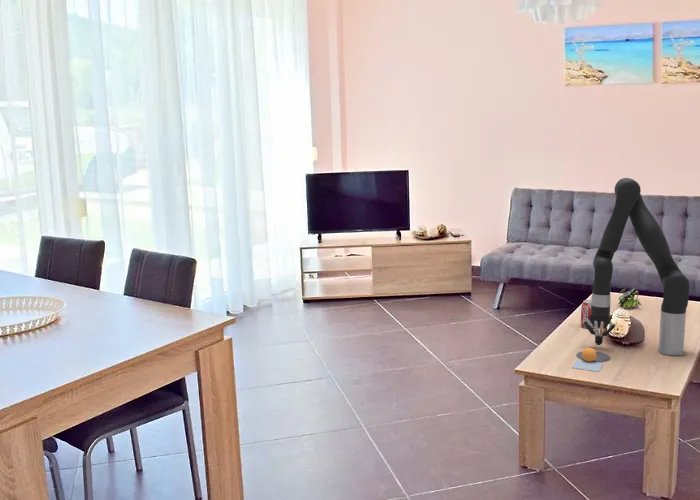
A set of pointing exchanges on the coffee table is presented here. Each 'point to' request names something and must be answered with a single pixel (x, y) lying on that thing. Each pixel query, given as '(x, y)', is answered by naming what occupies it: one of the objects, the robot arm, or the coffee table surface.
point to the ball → (589, 354)
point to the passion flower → (631, 301)
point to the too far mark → (587, 365)
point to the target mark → (599, 358)
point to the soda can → (586, 312)
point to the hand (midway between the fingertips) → (598, 344)
